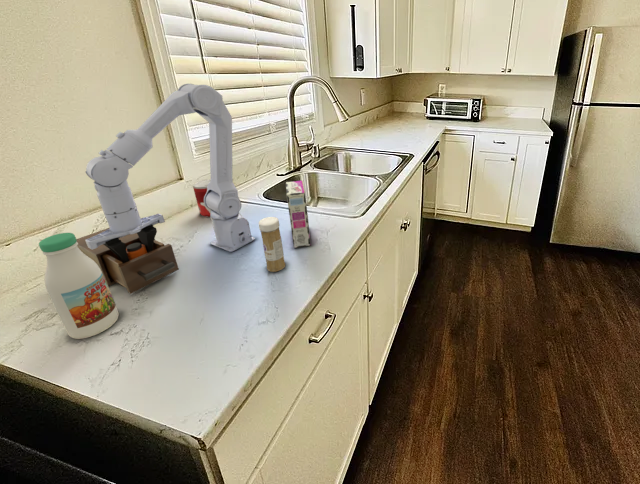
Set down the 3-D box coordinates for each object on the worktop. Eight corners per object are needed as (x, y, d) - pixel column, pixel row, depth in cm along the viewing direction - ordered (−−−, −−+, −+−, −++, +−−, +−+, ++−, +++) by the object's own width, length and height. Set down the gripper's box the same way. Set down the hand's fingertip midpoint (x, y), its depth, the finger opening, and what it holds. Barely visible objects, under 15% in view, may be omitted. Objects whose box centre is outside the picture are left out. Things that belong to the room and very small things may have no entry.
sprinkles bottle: (263, 269, 82) (254, 221, 77) (277, 260, 86) (269, 214, 81) (275, 274, 80) (266, 226, 75) (289, 265, 84) (282, 218, 79)
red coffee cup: (214, 218, 110) (207, 187, 106) (194, 216, 111) (186, 186, 107) (230, 208, 117) (223, 179, 113) (211, 206, 118) (204, 178, 114)
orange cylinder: (145, 259, 81) (138, 239, 79) (154, 263, 79) (147, 243, 77) (126, 267, 78) (119, 247, 76) (135, 272, 76) (128, 251, 74)
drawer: (188, 274, 79) (181, 249, 77) (140, 300, 71) (130, 272, 68) (152, 256, 87) (144, 233, 84) (104, 278, 78) (94, 253, 76)
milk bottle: (62, 346, 60) (14, 254, 53) (77, 319, 67) (36, 233, 60) (114, 331, 64) (76, 242, 56) (124, 306, 70) (91, 224, 63)
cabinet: (162, 261, 86) (152, 232, 83) (108, 286, 77) (96, 254, 73) (136, 248, 92) (126, 221, 89) (84, 270, 83) (71, 240, 79)
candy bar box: (312, 245, 93) (305, 192, 87) (293, 249, 91) (285, 195, 85) (308, 228, 102) (302, 179, 96) (292, 231, 101) (284, 181, 95)
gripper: (87, 226, 65) (110, 282, 70) (164, 200, 77) (179, 249, 82) (72, 219, 69) (95, 273, 73) (148, 195, 80) (164, 243, 85)
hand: (138, 260), depth 78 cm, fingers closed on orange cylinder, 4 cm apart
